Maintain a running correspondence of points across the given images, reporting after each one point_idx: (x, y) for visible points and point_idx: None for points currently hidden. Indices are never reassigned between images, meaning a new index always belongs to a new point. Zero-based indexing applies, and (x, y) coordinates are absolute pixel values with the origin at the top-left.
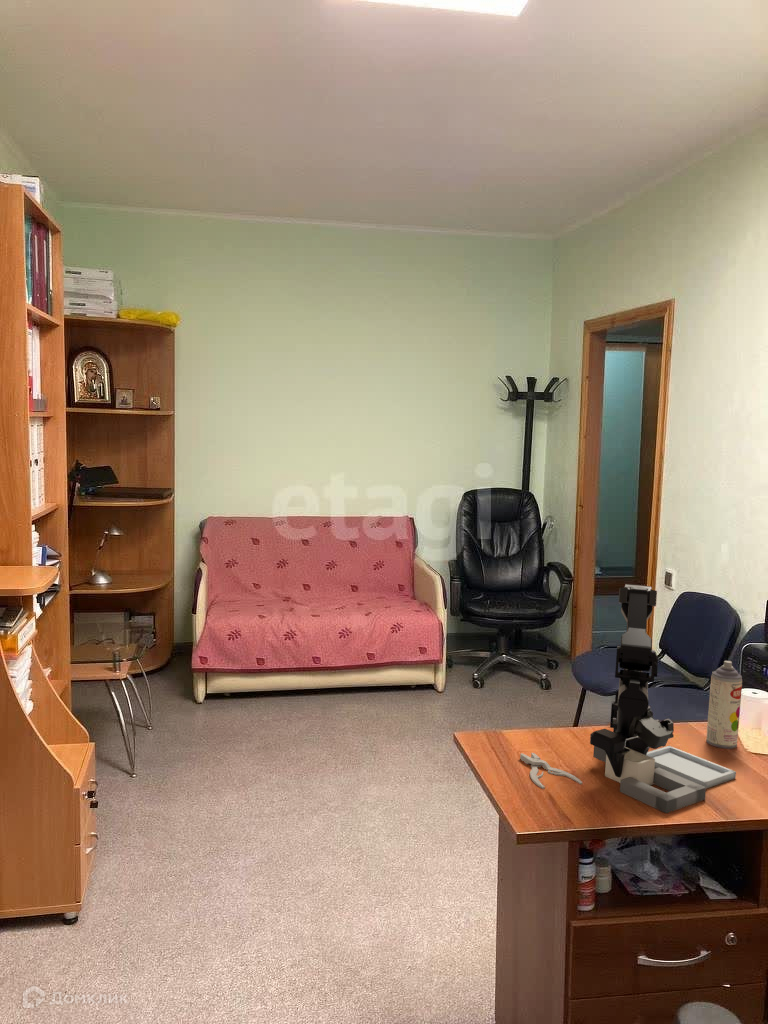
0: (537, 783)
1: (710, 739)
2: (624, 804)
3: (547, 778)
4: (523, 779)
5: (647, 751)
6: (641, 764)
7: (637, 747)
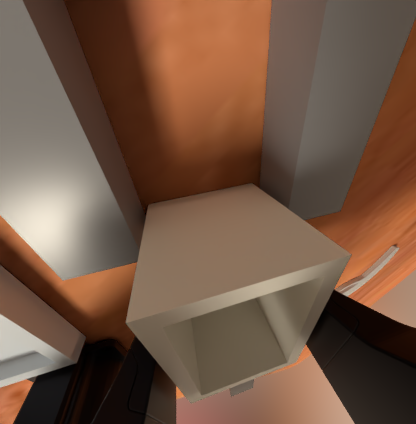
0: (388, 260)
1: None
2: (385, 100)
3: (346, 276)
4: (374, 276)
5: (107, 400)
6: (300, 258)
7: (163, 421)
